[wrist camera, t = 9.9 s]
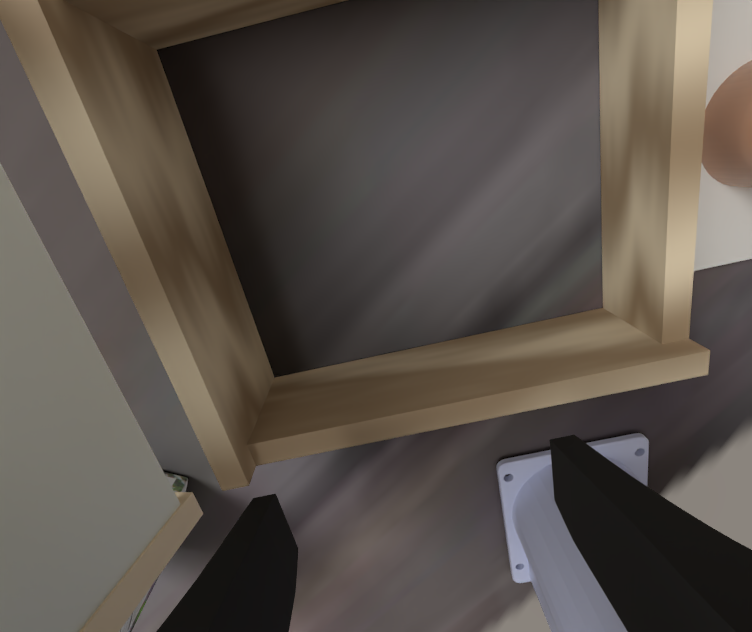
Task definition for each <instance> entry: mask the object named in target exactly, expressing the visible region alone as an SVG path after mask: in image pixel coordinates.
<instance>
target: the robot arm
mask: <svg viewBox="0 0 752 632" xmlns="http://www.w3.org/2000/svg"><path fill="white" fill-rule="evenodd" d="M550 448H551V450H547V451H542V452H537V453H532V454H527V455H522V456H517V457H512V458H507V459H503V460H501V461H499V462H498V464H497V466H496V469H497V476H498V483H499V490H500V497H501V505H502V512H503V519H504V526H505V533H506V540H507V547H508V554H509V562H510V569H511V575H512V577H513V580H514V581H515V582H517V583H524V582H530V581H531V582H532V584H533V587H534V589H535V592H536V594H537V597H538V600H539V602H540V605H541V607H542V609H543V612H544V615H545V617H546V619H547V622H548V624H549V627H550V629H551V632H752V550H751V549H749V548H747V547H745V546H743V545H741V544H740V543H738V542H736V541H734V540H732V539H730V538H729V537H727V536H725V535H723V534H722V533H720V532H718V531H717V530H715V529H713V528H712V527H710V526H708V525H707V524H705V523H703V522H702V521H700V520H698V519H697V518H695V517H694V516H692V515H690V514H689V513H687V512H685V511H683V510H682V509H681V508H679V507H677V506H676V505H674V504H673V503H671V502H670V501H668V500H667V499H665V498H664V497H662V496H661V495H659V494H658V493H656V492H655V491H653V490H652V489H650V488H649V487H647V483H648V454H649V441H648V439H647V438H646V437H645V436H644V435H643V434H641V433H634V434H629V435H624V436H619V437H614V438H609V439H603V440H598V441H593V442H588V443H585V442H583V441H582V440H581V439H579V438H578V437H576V436H575V435H571V436H566V437H561V438H556V439H551V440H550ZM637 449H638V450H637ZM636 450H637V451H636ZM507 474H510V475H508V476H505V475H507ZM297 560H298V547H297V545H296V542H295V540H294V537H293V535H292V533H291V530H290V528H289V525H288V523H287V520H286V518H285V515H284V513H283V510H282V508H281V506H280V503H279V501H278V498H277V496H276V494H272V495H267V496H262V497H257V498H253V500H252V501H251V502H250V504H249V505H248V507H247V508H246V510H245V511H244V512H243V514H242V515H241V517H240V518H239V520H238V521H237V523H236V524H235V525H234V527H233V528H232V530H231V531H230V533H229V534H228V536H227V537H226V539H225V540H224V541H223V543H222V544H221V546H220V547H219V549H218V550H217V552H216V553H215V554H214V556H213V557H212V559H211V560H210V561H209V563H208V564H207V566H206V567H205V568H204V570H203V571H202V573H201V574H200V575H199V577H198V578H197V580H196V581H195V582H194V584H193V585H192V586H191V588H190V589H189V590H188V592H187V593H186V594H185V595H184V597H183V598H182V599H181V601H180V602H179V603H178V605H177V606H176V607H175V609H174V610H173V611H172V613H171V614H170V615H169V616H168V618H167V619H166V620H165V622H164V623H163V624H162V625H161V627H160V628H159V629H158V630H157V632H289V626H290V620H291V614H292V609H293V603H294V597H295V589H296V576H297Z"/></svg>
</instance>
